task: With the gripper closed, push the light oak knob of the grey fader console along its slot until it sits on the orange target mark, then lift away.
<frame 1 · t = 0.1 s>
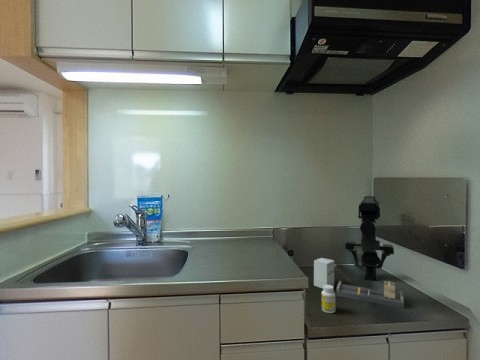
hand: (368, 266, 115), 15 cm above the worktop, fingers open, 9 cm apart
supplement box: (324, 286, 131), on the worktop
supplement bottle: (328, 310, 107), on the worktop
fader console: (368, 297, 118), on the worktop
fader knob: (389, 289, 114), point 5 cm above the worktop, slide at 8.0 cm
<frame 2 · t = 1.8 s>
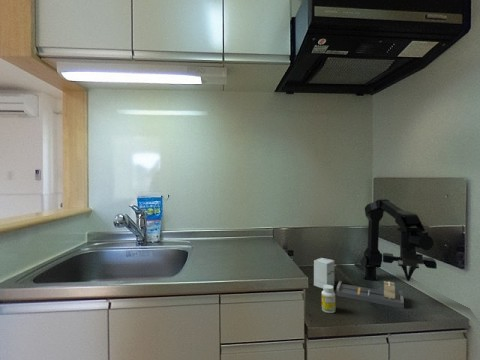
hand: (408, 280, 111), 10 cm above the worktop, fingers closed
nothing on the worktop moved.
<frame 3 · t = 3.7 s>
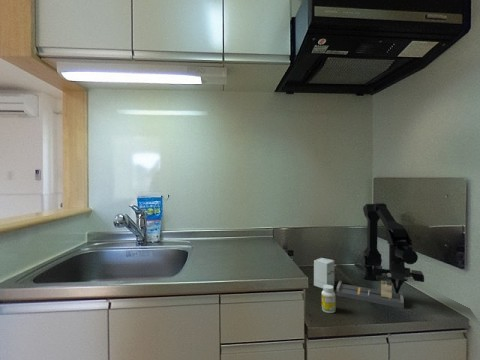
hand: (396, 292, 113), 4 cm above the worktop, fingers closed
fader knob: (386, 289, 115), point 5 cm above the worktop, slide at 6.8 cm, touching gripper
everything else where it was.
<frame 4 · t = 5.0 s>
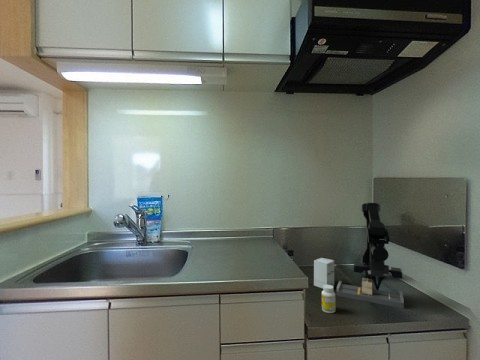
hand: (377, 289, 117), 4 cm above the worktop, fingers closed
fader knob: (367, 285, 118), point 5 cm above the worktop, slide at -0.6 cm, touching gripper
everything else where it was.
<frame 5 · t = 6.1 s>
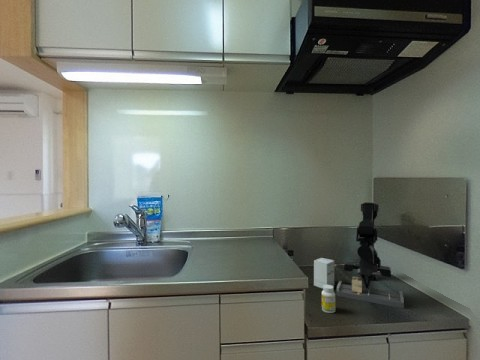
hand: (366, 287, 118), 4 cm above the worktop, fingers closed
fader knob: (357, 284, 120), point 5 cm above the worktop, slide at -4.7 cm, touching gripper
everything else where it was.
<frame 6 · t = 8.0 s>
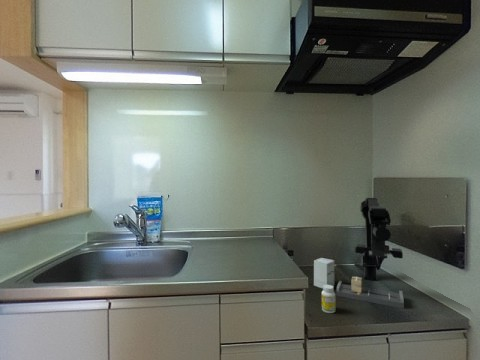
hand: (378, 269, 120), 12 cm above the worktop, fingers closed
fader knob: (356, 284, 120), point 5 cm above the worktop, slide at -4.9 cm
everything else where it was.
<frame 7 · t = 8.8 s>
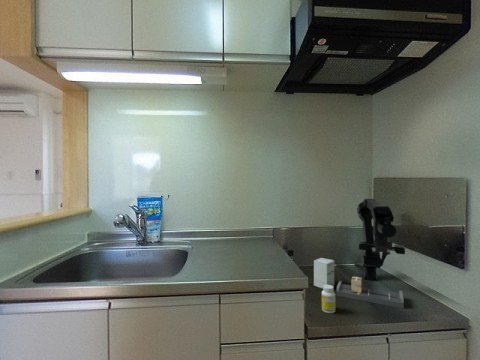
hand: (381, 265, 124), 12 cm above the worktop, fingers closed
nothing on the worktop moved.
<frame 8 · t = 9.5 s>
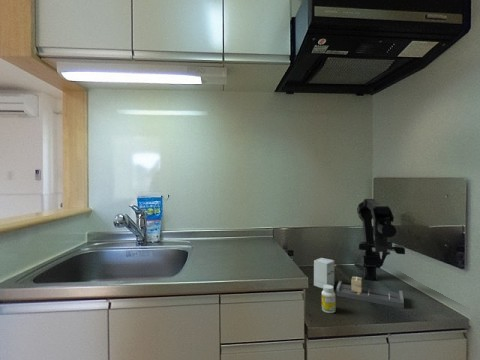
hand: (381, 265, 124), 12 cm above the worktop, fingers closed
nothing on the worktop moved.
at the end: fader knob slide at -4.9 cm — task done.
